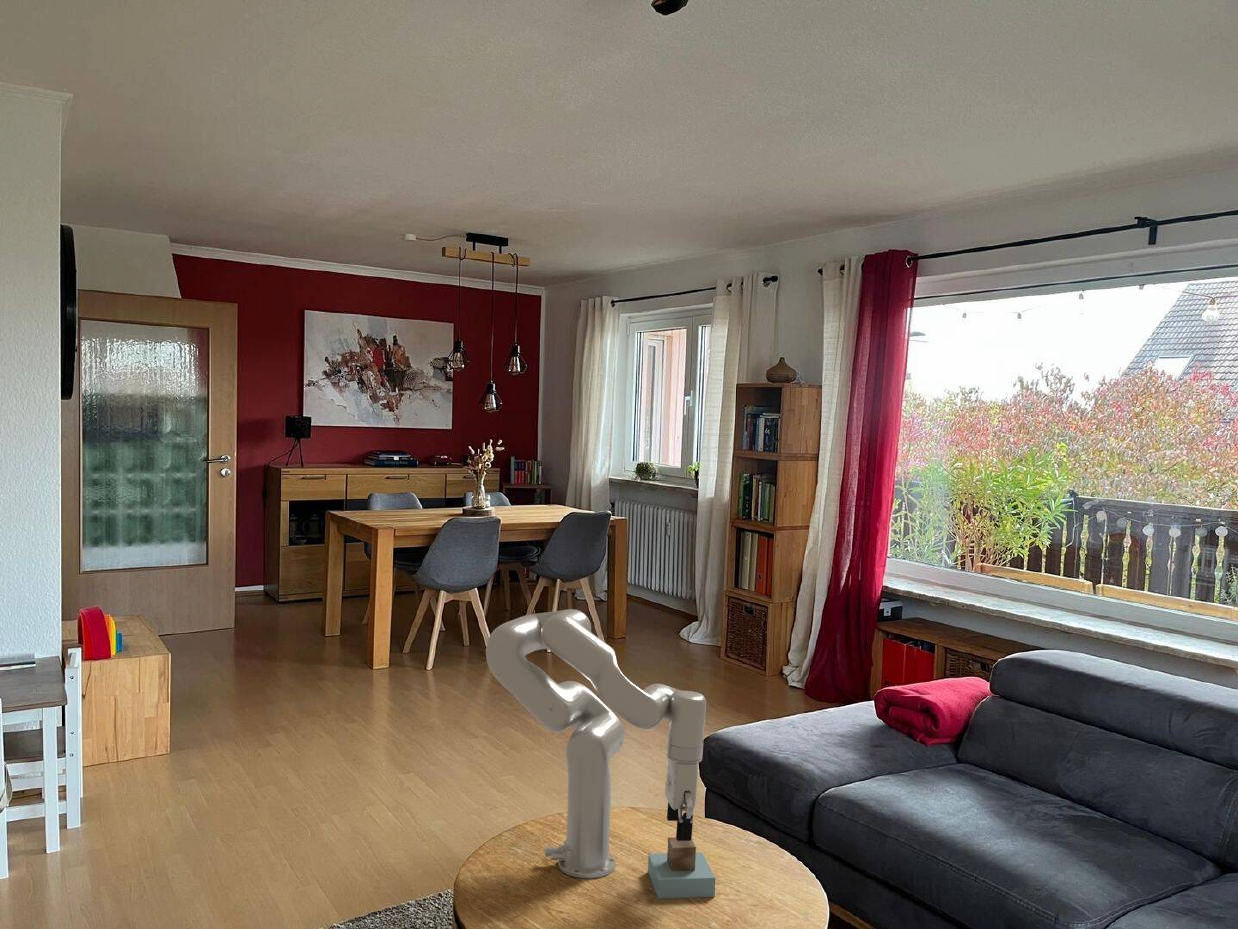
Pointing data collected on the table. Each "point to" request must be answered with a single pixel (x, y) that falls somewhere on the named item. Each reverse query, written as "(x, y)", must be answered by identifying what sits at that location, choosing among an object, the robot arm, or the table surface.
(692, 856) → the walnut cube
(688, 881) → the plinth block
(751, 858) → the table surface
